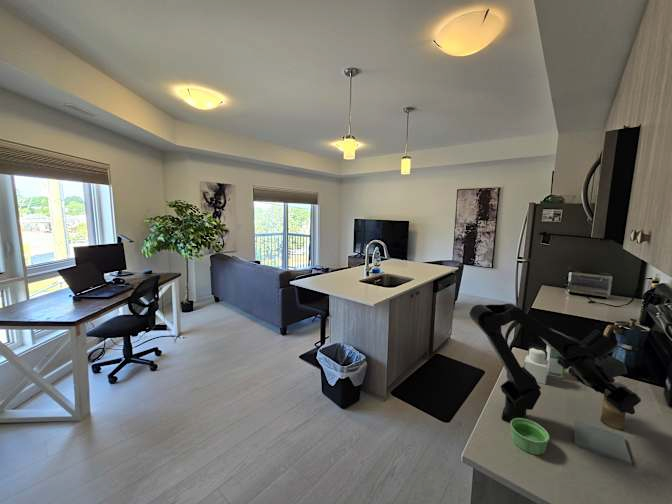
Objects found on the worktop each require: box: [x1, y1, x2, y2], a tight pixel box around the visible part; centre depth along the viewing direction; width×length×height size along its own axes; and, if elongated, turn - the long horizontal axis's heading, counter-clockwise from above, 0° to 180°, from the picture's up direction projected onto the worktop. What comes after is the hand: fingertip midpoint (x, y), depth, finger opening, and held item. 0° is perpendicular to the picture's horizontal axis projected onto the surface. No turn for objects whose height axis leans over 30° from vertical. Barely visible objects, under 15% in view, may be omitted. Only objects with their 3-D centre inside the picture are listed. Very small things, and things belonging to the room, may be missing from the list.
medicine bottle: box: [523, 345, 548, 385], centre depth 110 cm, size 7×7×12 cm
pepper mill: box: [600, 380, 628, 431], centre depth 85 cm, size 5×5×13 cm
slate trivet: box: [572, 418, 633, 467], centre depth 79 cm, size 11×11×1 cm
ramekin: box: [509, 418, 550, 456], centre depth 78 cm, size 9×9×4 cm
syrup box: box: [545, 344, 567, 380], centre depth 113 cm, size 6×6×14 cm
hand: (618, 402), depth 85 cm, fingers open, 9 cm apart
